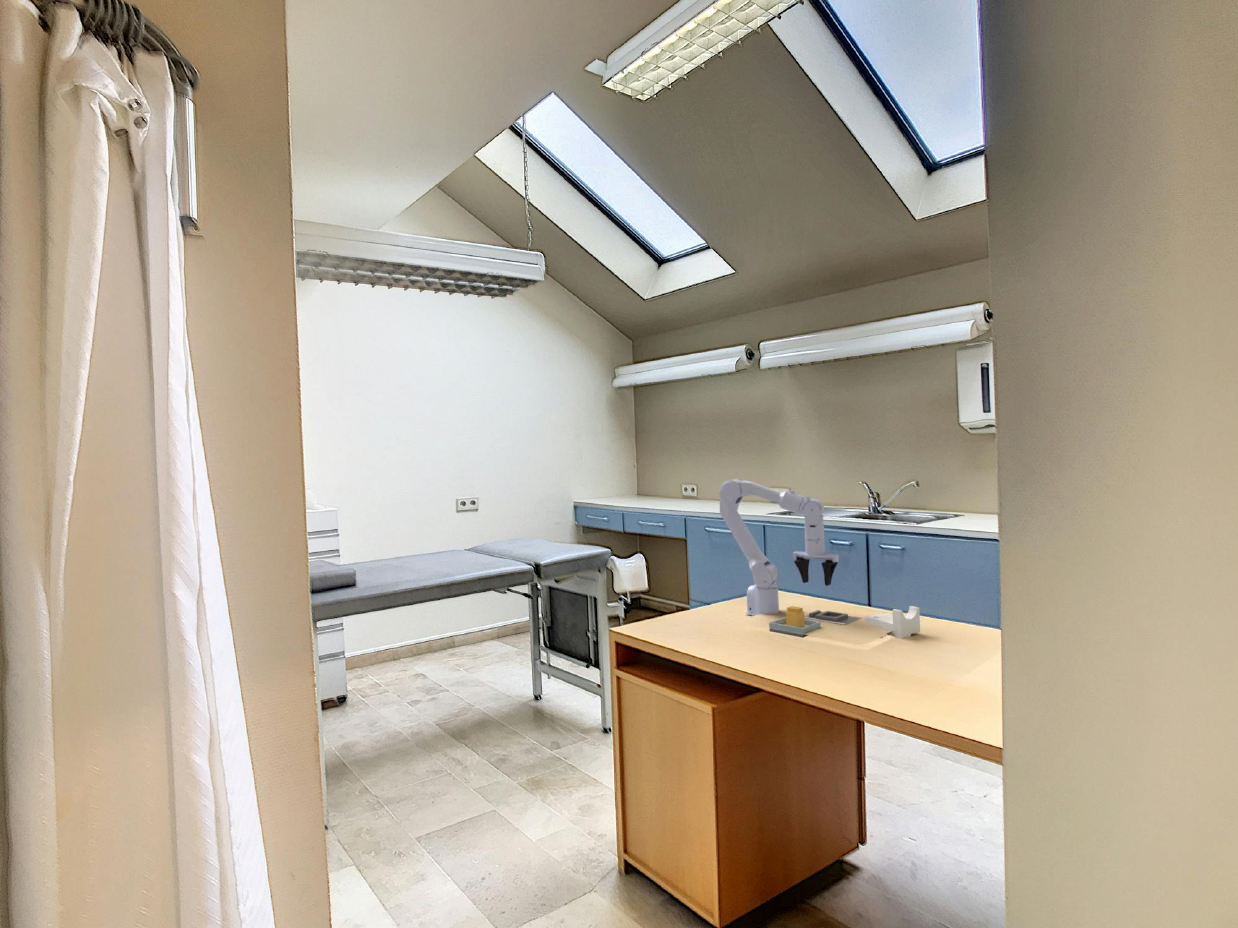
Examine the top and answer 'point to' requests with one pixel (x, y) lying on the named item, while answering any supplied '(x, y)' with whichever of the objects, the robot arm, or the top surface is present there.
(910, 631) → the bracket
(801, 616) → the block
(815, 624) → the parts tray
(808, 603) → the top surface
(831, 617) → the grey socket base
